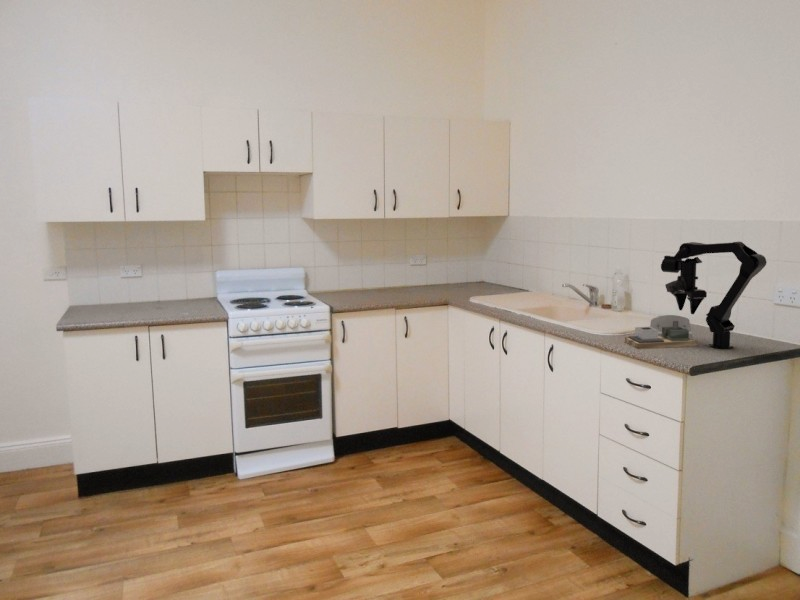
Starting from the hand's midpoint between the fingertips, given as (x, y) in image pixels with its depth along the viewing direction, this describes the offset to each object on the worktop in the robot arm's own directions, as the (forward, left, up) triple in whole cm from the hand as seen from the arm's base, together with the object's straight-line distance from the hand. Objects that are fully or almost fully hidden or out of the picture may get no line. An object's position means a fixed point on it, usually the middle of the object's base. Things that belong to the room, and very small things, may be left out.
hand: (686, 312), depth 258 cm
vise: (-3, +12, -12) cm, 17 cm away
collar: (-3, +18, -9) cm, 20 cm away
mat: (-3, +18, -10) cm, 21 cm away
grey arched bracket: (+11, +1, -12) cm, 16 cm away
